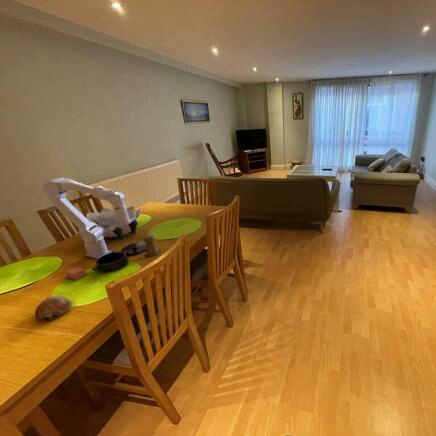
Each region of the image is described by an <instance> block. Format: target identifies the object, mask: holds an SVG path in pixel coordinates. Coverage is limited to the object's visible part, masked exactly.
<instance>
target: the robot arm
mask: <svg viewBox="0 0 436 436" xmlns="http://www.w3.org/2000/svg"><path fill="white" fill-rule="evenodd" d="M41 190H42V191H43V192H44V193H45V194H46V196H47V198H48V201H49V202H50V203H51V204H52V205H53V206H54V207H55V208H56V209H58V210H59V212H61V213H62V214H63V215H64V216H65V217H66V218H67V219H68V220H69V221H70V222H72V223H73V225H75V226H76V227H77V228H78V235H80V236H81V237H80V238H81V239H82V241H84V243H83V245H84V249H85V252H86V255H85V256H86V257H89V258H93V259H96V260H97V259H98V258H100V257H101V256H104V255H106V254H109V253H113V250H109V249H108V246H107V245H106V241H105V237H103V234H104V229H103V228H102V227H100V226H98V225H97V224H96V223H93V222H89V221H88V220H87V219H86V218H87V217H86V216H85V215H84V214H83V213H81V212H80V211H79V209H78V208H77V207H75V206H74V205H73V204H72V203H71V202H70V201H69V200H68V199H67V198H66V197H67V196H66V195H67V192H68V191H76V192H81V193H85V194H88V195H89V194H90V195H91V196H92V197H93V198H95V199H99V200H101V201H107V202H108V203H109V204H110V205H111V206H112V210H114V214H115V217H116V221H117V222H116V223H115V224H113V225H112V226H109V228H110V230H111V231H113V232H114V233H115V234H116V235H117V237H116V238H118V240H119V241H124V235H122V229H120V228H119V227H121V226H123V225H126V224H128V225H129V227H130V230H131V231H130V233H131V235H136V234H137V226H138V223H139V221H138V222H137V217H132V218H129V216H128V212H127V209H128V208H127V206H126V202H125V199H126V195H125V192H122V191H120V190H113V189H108V188H104V186H101V185H100V186H95V187H93V186H90V185H88V184H84V183H81V182H78V181H75V180H73V179H72V178H66V177H64V176H59V177H57V178H54V179H51V180H46V181H45V182H44V183H43V184H42V189H41ZM126 208H127V209H126ZM85 217H86V218H85Z"/></svg>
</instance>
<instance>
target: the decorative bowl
mask: <svg viewBox="0 0 436 436" xmlns="http://www.w3.org/2000/svg"><path fill="white" fill-rule="evenodd" d="M126 209H127V212H128V216H129V218H132V217H137V222H138V223H139V217H140V216H141V213H142V208H141V207H140V208H139V209H138V210H135V207H134V206H133V205H131V206H129V207H126ZM84 217H85V218H86V219H87V220H88V221H89V222H93V223H96V224H97V225H98V226H100V227H102V228H103V229H104V234H103V238H118V237H117V235H116V234H115V233H114V232H113V231H111V230H110V228H109V226H112V225H113V224H115V223H116V222H117V221H116V217H115V214H114V210H113V209H111V208H107V207H106V208H103V209H101V210H100V212H99V211H97V212H87V213H86V216H84ZM119 228H120V229H122V236H124V235H127V234H129V233H131V230H130V227H129V225H128V224H126V225H123V226H121V227H119Z"/></svg>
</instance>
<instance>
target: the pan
mask: <svg viewBox="0 0 436 436" xmlns="http://www.w3.org/2000/svg"><path fill="white" fill-rule="evenodd" d="M128 253H129V251H124V252H121V251H112V252H111V253H109V254H106V255H104V256H101V257H100V258H98V259H97V258H96V259H95V266H93V267H91V270H92V271H94V272H96V271H99V273H112V272H116V271H119V270H121V269H123V268H124V267H125V266H127V265H128V263H129V261H128V258H127V255H126V254H128Z"/></svg>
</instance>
